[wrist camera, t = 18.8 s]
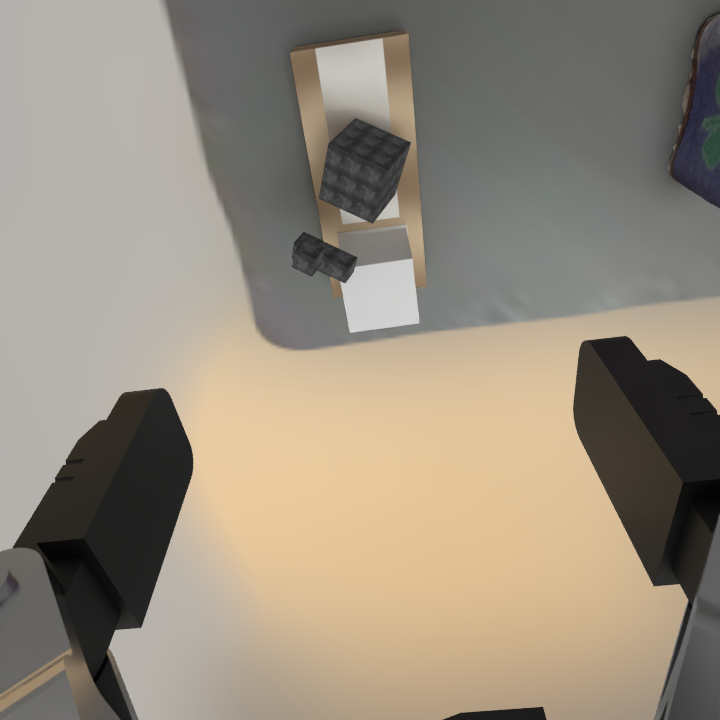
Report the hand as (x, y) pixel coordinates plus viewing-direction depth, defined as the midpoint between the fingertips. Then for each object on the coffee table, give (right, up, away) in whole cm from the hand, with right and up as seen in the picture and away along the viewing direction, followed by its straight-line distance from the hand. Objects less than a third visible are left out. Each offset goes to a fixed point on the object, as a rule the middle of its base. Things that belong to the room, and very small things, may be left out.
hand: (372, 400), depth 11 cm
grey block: (+1, +7, +23) cm, 24 cm away
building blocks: (-1, +8, +19) cm, 21 cm away
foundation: (0, +13, +23) cm, 26 cm away
